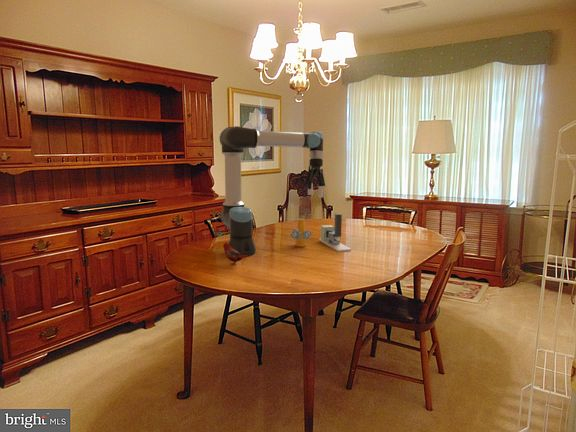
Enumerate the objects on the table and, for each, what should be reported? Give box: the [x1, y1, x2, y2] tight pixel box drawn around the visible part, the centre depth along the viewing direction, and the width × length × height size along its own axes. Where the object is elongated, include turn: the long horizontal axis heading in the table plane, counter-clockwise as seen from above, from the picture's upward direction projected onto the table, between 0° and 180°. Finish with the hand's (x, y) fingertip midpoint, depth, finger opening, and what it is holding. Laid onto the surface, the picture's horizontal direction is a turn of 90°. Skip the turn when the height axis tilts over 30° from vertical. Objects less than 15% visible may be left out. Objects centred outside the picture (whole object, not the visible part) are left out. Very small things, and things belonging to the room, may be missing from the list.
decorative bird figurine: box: [222, 242, 250, 266], centre depth 196 cm, size 3×18×10 cm, turn 51°
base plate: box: [318, 238, 352, 253], centre depth 236 cm, size 28×8×1 cm, turn 17°
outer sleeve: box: [328, 231, 341, 245], centre depth 236 cm, size 7×4×6 cm, turn 17°
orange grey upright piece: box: [290, 218, 312, 248], centre depth 234 cm, size 12×10×15 cm
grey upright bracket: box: [326, 213, 343, 241], centre depth 237 cm, size 17×3×15 cm, turn 17°
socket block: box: [320, 224, 335, 241], centre depth 245 cm, size 5×6×8 cm
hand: (315, 196), depth 239 cm, fingers open, 13 cm apart
